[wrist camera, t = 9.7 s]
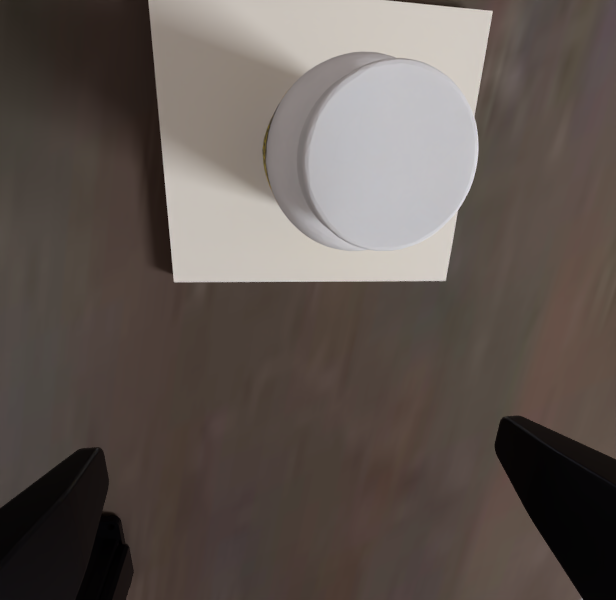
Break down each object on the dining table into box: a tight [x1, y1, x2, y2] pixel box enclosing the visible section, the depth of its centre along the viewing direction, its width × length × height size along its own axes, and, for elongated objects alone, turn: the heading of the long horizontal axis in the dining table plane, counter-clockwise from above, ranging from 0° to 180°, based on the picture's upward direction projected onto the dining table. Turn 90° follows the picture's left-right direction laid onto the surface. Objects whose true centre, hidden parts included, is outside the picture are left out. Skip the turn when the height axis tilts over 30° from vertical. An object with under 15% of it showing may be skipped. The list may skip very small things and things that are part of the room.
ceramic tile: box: [148, 0, 493, 282], centre depth 18 cm, size 14×12×1 cm
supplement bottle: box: [262, 52, 478, 251], centre depth 13 cm, size 5×5×10 cm
